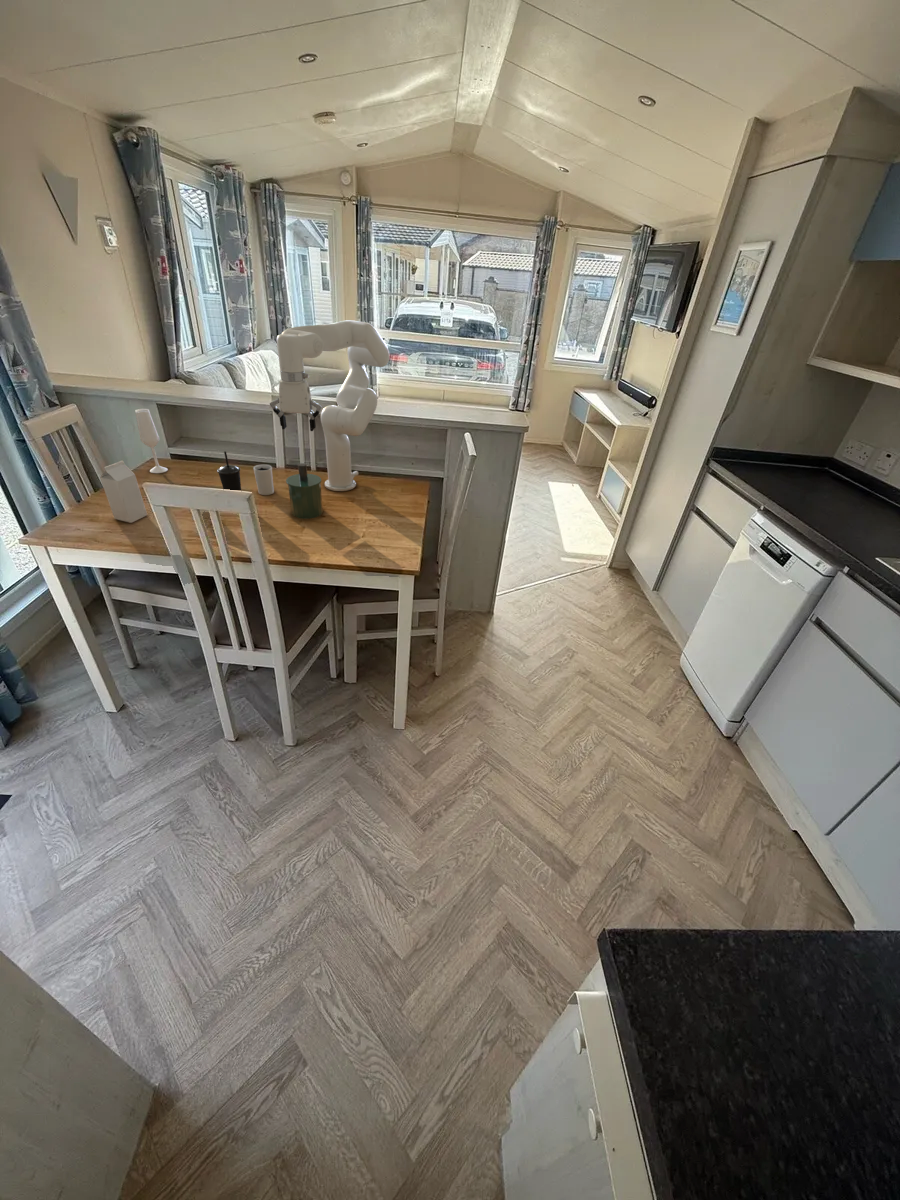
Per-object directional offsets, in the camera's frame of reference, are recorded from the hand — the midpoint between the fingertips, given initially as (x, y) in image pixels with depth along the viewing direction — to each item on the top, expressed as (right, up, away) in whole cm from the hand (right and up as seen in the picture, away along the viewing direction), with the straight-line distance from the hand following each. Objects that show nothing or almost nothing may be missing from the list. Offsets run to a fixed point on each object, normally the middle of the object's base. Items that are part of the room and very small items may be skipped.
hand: (298, 429), depth 174 cm
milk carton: (-57, -31, -1) cm, 65 cm away
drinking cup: (-27, -24, +12) cm, 38 cm away
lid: (+1, -17, +3) cm, 18 cm away
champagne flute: (-68, -6, +34) cm, 77 cm away
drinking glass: (-20, -17, +23) cm, 35 cm away
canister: (0, -28, +10) cm, 29 cm away
